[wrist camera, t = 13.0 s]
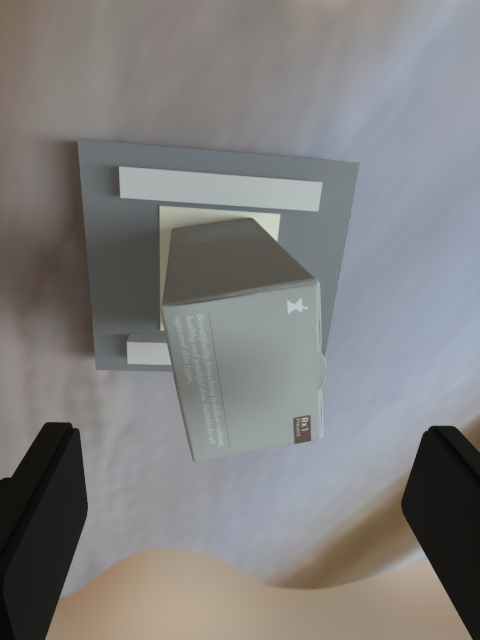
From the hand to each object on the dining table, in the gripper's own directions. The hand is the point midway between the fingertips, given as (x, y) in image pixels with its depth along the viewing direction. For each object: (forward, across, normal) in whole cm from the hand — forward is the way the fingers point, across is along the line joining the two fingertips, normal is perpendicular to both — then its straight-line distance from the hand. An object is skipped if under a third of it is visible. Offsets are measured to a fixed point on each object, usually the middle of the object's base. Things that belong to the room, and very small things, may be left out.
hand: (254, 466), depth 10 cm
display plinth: (+24, 0, +1) cm, 24 cm away
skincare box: (+21, 0, +1) cm, 21 cm away
